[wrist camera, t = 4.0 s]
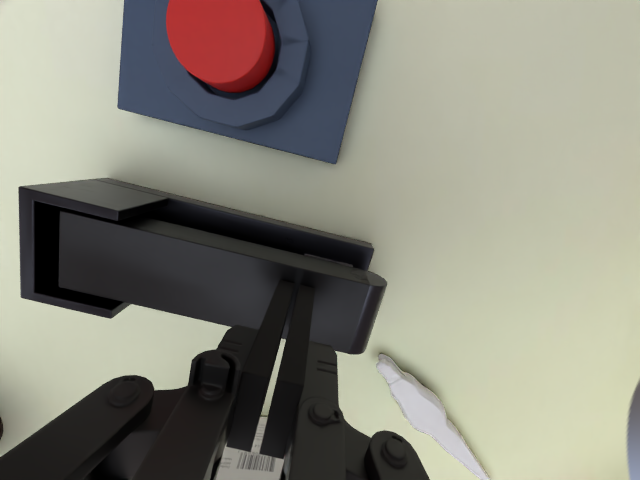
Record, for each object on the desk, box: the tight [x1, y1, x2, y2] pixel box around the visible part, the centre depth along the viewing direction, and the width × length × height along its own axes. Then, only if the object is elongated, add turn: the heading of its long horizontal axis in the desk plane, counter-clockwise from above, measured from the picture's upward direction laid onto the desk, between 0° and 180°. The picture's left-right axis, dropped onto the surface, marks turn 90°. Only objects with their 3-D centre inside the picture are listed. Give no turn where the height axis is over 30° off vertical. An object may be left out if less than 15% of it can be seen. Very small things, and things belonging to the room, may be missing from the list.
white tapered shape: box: [376, 354, 491, 480], centre depth 22 cm, size 15×3×2 cm, turn 40°
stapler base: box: [19, 178, 374, 319], centre depth 17 cm, size 17×6×6 cm, turn 76°
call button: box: [166, 0, 275, 93], centre depth 13 cm, size 4×4×2 cm
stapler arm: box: [58, 209, 387, 354], centre depth 17 cm, size 16×4×3 cm, turn 76°
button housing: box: [118, 0, 378, 164], centre depth 15 cm, size 12×8×4 cm, turn 76°
